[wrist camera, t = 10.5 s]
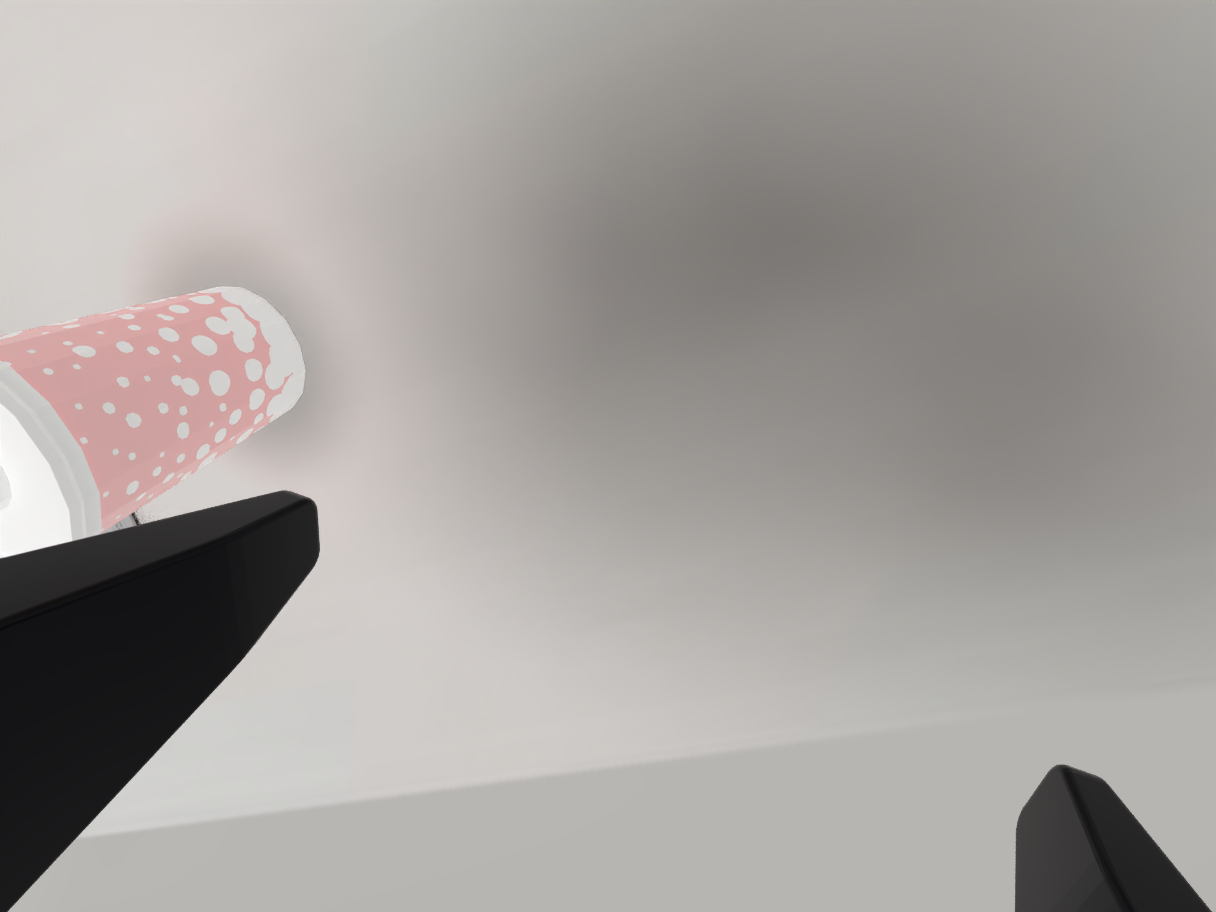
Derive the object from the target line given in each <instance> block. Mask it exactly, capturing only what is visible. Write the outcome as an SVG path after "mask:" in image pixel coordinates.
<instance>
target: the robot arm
mask: <svg viewBox="0 0 1216 912" xmlns="http://www.w3.org/2000/svg"><path fill="white" fill-rule="evenodd" d="M319 552H320V542H319V527H318V512H317V506H316V504H315V502H314V501H313V500H312V499H310V498H308V497H305V496H302V495H300V494H297V493H294V492H291V491H284V490H283V491H278V492H273V493H269V494H265V495H261V496H257V497H253V498H249V499H244V500H240V501H236V502H232V503H228V504H224V505H219V506H215V507H211V508H207V509H203V510H199V511H195V512H190V513H186V514H182V515H178V516H174V517H170V518H165V519H161V520H157V521H153V522H149V523H145V524H141V525H136V526H132V527H128V528H124V529H120V530H116V531H111V532H107V533H103V534H99V535H95V536H91V537H87V538H82V539H78V540H74V541H70V542H66V543H62V544H57V545H53V546H49V547H45V548H41V549H37V550H33V551H28V552H24V553H20V554H16V555H12V556H8V557H3V558H0V912H8V911H9V909H10V908H11V907H12V906H13V905H14V904H15V903H16V902H17V901H18V900H19V899H20V898H21V897H22V895H24V893H25V892H26V891H27V890H28V889H29V888H30V887H31V886H32V885H33V884H34V883H35V882H36V881H37V880H38V878H39V877H40V876H41V875H42V874H43V873H44V872H45V871H46V870H47V869H48V868H49V867H50V865H52V863H53V862H54V861H55V860H56V859H57V858H58V857H59V856H60V855H61V854H62V853H63V852H64V851H65V850H66V848H67V847H68V846H69V845H70V844H71V843H72V842H73V841H74V840H75V839H76V838H77V837H78V836H79V835H80V833H81V832H82V831H83V830H84V829H85V828H86V827H87V826H88V825H89V824H90V823H91V822H92V821H93V820H94V819H95V817H96V816H97V815H98V814H99V813H100V812H101V811H102V810H103V809H104V808H105V807H106V806H107V805H108V804H109V802H110V801H111V800H112V799H113V798H114V797H115V796H116V795H117V794H118V793H119V792H120V791H121V790H122V789H123V787H124V786H125V785H126V784H127V783H128V782H129V781H130V780H131V779H132V778H133V777H134V776H135V775H136V774H137V772H138V771H139V770H140V769H141V768H142V767H143V766H144V765H145V764H146V763H147V762H148V761H149V760H150V759H151V757H152V756H153V755H154V754H155V753H156V752H157V751H158V750H159V749H160V748H161V747H162V746H163V745H164V744H165V742H166V741H167V740H168V739H169V738H170V737H171V736H172V735H173V734H174V733H175V732H176V731H177V730H178V729H179V728H180V726H181V725H182V724H183V723H184V722H185V721H186V720H187V719H188V718H189V717H190V716H191V715H192V714H193V713H194V711H195V710H196V709H197V708H198V707H199V706H200V705H201V704H202V703H203V702H204V701H205V700H206V699H207V698H208V696H209V695H210V694H211V693H212V692H213V691H214V690H215V689H216V688H217V687H218V686H219V685H220V684H221V683H222V681H223V680H224V679H225V678H226V677H227V676H228V675H229V674H230V673H231V672H232V671H233V669H234V668H235V667H236V666H237V665H238V664H239V663H240V662H241V660H242V659H243V658H244V657H245V656H246V654H247V653H248V652H249V651H250V650H251V648H252V647H253V646H254V645H255V643H256V642H257V641H258V640H259V638H260V637H261V636H262V634H263V633H264V632H265V630H266V629H267V628H268V626H269V625H270V624H271V623H272V621H273V620H274V619H275V617H276V616H277V615H278V613H279V612H280V611H281V609H282V608H283V607H284V606H285V604H286V603H287V602H288V600H289V599H290V598H291V596H292V595H293V594H294V592H295V591H296V590H297V589H298V587H299V586H300V585H301V583H302V582H303V581H304V579H305V578H306V577H307V576H308V574H309V573H310V572H311V570H312V569H313V567H314V566H315V564H316V562H317V559H318V557H319ZM1015 875H1016V876H1015V881H1016V882H1015V912H1212V911H1211V910H1210V909H1209V908H1208V907H1207V906H1206V904H1205V903H1204V902H1203V900H1202V899H1201V898H1200V897H1199V895H1198V894H1197V893H1196V892H1195V891H1194V889H1193V888H1192V887H1191V886H1190V884H1189V883H1188V882H1187V881H1186V879H1185V878H1184V877H1183V876H1182V875H1181V873H1180V872H1179V871H1178V870H1177V868H1176V867H1175V866H1174V865H1173V863H1172V862H1171V861H1170V860H1169V859H1168V857H1167V856H1166V855H1165V854H1164V852H1163V851H1162V850H1161V849H1160V847H1159V846H1158V845H1157V844H1156V843H1155V842H1154V840H1153V839H1152V838H1151V837H1150V835H1149V834H1148V833H1147V832H1146V830H1145V829H1144V828H1143V827H1142V825H1141V824H1140V823H1139V822H1138V820H1137V819H1136V818H1135V817H1134V815H1133V814H1132V813H1131V812H1130V811H1129V809H1128V808H1127V807H1126V806H1125V804H1124V803H1123V802H1122V801H1121V799H1120V798H1119V797H1118V796H1117V795H1116V794H1115V792H1114V791H1113V790H1112V789H1111V787H1110V786H1109V785H1108V784H1107V783H1106V782H1105V781H1104V780H1103V779H1101V778H1100V777H1098V776H1096V775H1093V774H1090V773H1087V772H1084V771H1082V770H1079V769H1076V768H1073V767H1070V766H1068V765H1056V766H1055V767H1053V768H1052V769H1051V770H1050V771H1049V772H1048V773H1047V775H1046V776H1045V777H1044V779H1043V780H1042V782H1041V783H1040V785H1039V786H1038V787H1037V789H1036V790H1035V792H1034V793H1033V795H1032V796H1031V797H1030V799H1029V800H1028V802H1027V803H1026V805H1025V806H1024V807H1023V809H1022V811H1021V813H1020V816H1019V819H1018V822H1017V828H1016V873H1015Z"/></svg>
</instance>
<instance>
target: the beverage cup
mask: <svg viewBox="0 0 1216 912" xmlns="http://www.w3.org/2000/svg"><path fill="white" fill-rule="evenodd" d="M305 373H306V369H305V365H304V361H303V356H302V352H301V348H300V344H299V342H298V341H297V339H296V337H295V335H294V334H293V332H292V330H291V328H290V327H289V325H288V323H287V321H286V320H285V319H284V318H283V317H282V316H281V315H280V314H279V313H278V312H277V311H276V310H275V309H274V308H273V307H272V306H271V305H270V304H269V303H268V302H267V301H266V300H265V299H264V298H262V297H260V296H258V295H256V294H254V293H252V292H250V291H248V290H246V289H244V288H242V287H225V286H219V287H215V288H211V289H206V290H202V291H197V292H193V293H188V294H184V295H179V296H175V297H171V298H166V299H162V300H157V301H153V302H148V303H144V304H139V305H135V306H131V307H126V308H122V309H117V310H113V311H108V312H104V313H100V314H95V315H91V316H86V317H82V318H77V319H73V320H68V321H64V322H60V323H55V324H51V325H46V326H42V327H37V328H33V329H28V330H24V331H20V332H15V333H11V334H6V335H2V336H0V558H3V557H8V556H12V555H16V554H20V553H24V552H28V551H33V550H37V549H41V548H45V547H49V546H53V545H57V544H62V543H66V542H70V541H74V540H78V539H82V538H87V537H91V536H95V535H99V534H101V533H103V532H104V531H106V530H107V529H109V528H110V527H112V526H113V525H115V524H116V523H118V522H119V521H121V520H122V519H124V518H125V517H127V516H128V515H130V514H131V513H133V512H135V511H136V510H138V509H139V508H141V507H142V506H144V505H145V504H147V503H148V502H150V501H151V500H153V499H154V498H156V497H157V496H159V495H160V494H162V493H163V492H165V491H167V490H168V489H170V488H171V487H173V486H174V485H176V484H177V483H179V482H180V481H182V480H183V479H185V478H186V477H188V476H189V475H191V474H192V473H194V472H195V471H197V470H199V469H200V468H202V467H203V466H205V465H206V464H208V463H209V462H211V461H212V460H214V459H215V458H217V457H218V456H220V455H221V454H223V453H224V452H226V451H228V450H229V449H231V448H232V447H234V446H235V445H237V444H238V443H240V442H241V441H243V440H244V439H246V438H247V437H249V436H250V435H252V434H253V433H255V432H256V431H258V430H260V429H261V428H263V427H264V426H266V425H267V424H269V423H270V422H272V421H273V420H275V419H276V418H278V417H279V416H281V415H282V414H284V413H285V412H287V411H288V410H290V409H292V408H293V406H294V405H295V403H296V402H297V401H298V399H299V398H300V396H301V395H302V393H303V389H304V381H305Z"/></svg>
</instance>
